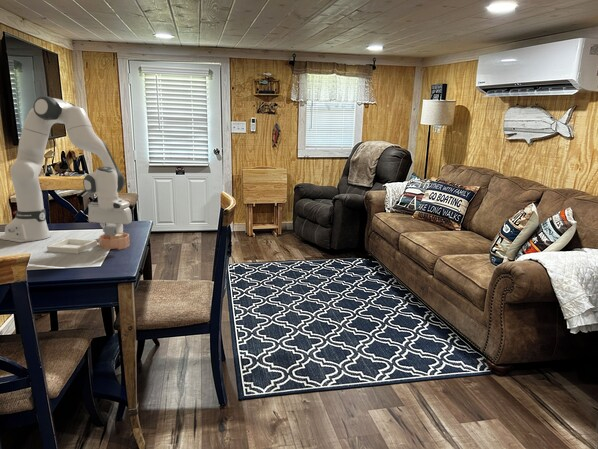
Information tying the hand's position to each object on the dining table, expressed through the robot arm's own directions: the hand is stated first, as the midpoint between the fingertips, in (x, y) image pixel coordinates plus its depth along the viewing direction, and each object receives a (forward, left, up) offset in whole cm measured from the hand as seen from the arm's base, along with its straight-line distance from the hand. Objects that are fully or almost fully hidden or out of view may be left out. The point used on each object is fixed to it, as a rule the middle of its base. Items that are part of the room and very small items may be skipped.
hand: (111, 232), depth 208 cm
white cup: (-8, +16, -8) cm, 19 cm away
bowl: (0, +2, -7) cm, 8 cm away
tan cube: (0, +4, -6) cm, 8 cm away
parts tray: (-15, -7, -7) cm, 18 cm away
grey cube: (0, 0, -1) cm, 1 cm away
